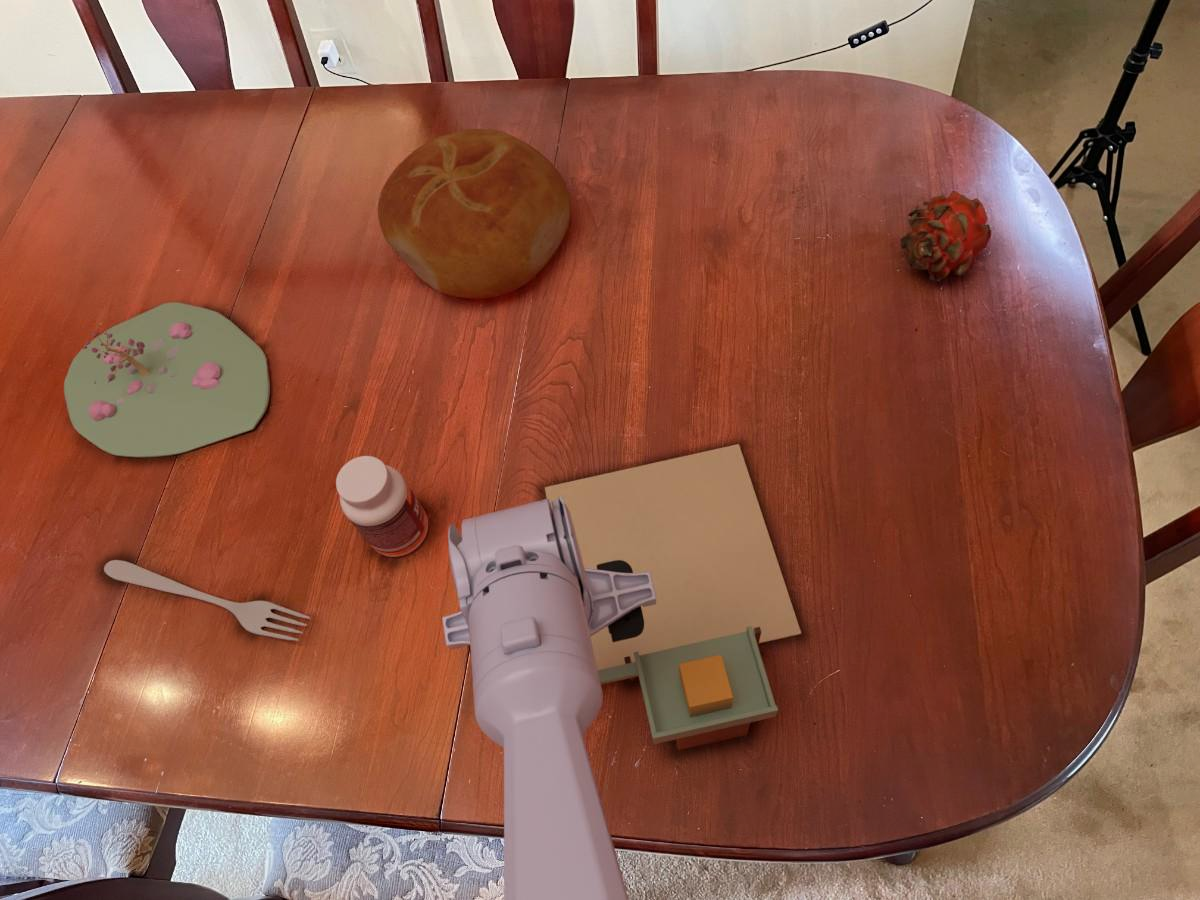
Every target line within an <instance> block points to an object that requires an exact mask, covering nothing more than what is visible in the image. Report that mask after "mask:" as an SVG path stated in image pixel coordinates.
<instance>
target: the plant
mask: <svg viewBox="0 0 1200 900" xmlns="http://www.w3.org/2000/svg"><path fill="white" fill-rule="evenodd" d="M99 334H100V333H99V332H98V331H96V332H94V333H93V334H92V338H94V339H93V340H89V341H86V342H85V345H84V346H83V347H82V348H81V350H80V351H79V352H78V353H77V354H76V355H75V356H74V358H73V359H72V361H71V363H70V366H69V368H68V370H67V373H66V375H65V378H64V383H63V394H64V399H65V403H66V409H67V412H68V417H69V420H70V423H71V425H72V427H73V428H74V430H76V431H77V433H78V434H79V435H81V436H82V437H83V438H84V439H86V440H87V441H88V442H90V443H91V444H93V445H94V446H95V447H97V448H98V449H100V450H102V451H104V452H106V453H108V454H110V455H113V456H117V457H123V458H124V457H126V458H139V459H141V458H144V459H145V458H146V459H147V458H160V457H170V456H175V455H181V454H184V453H188V452H192V451H194V450H198V449H200V448H204V447H206V446H209V445H212V444H214V443H218V442H221V441H223V440H227V439H230V438H232V437H236V436H240V435H241V434H244V433H247V432H250V431H253V430H255V429H256V427H257V425H258V424H259V423H260V421H261V419H262V418H263V416H264V415H265V413H266V411H267V408H268V406H269V403H270V402H269V401H270V396H271V381H270V374H269V364H268V359H267V356H266V353H265V352H264V350H263V349H262V348H261V347H260V346H259V344H257V343H256V342H255V341H254V340H253V339H252V338H251V337H249V335H247V334H246V333H245V332H244V331H242V330H241V329H240V328H239V327H238V326H237V325H236V324H235V323H233V322H232V321H231V320H230V319H228V318H227V317H226V316H225V315H223V314H221V313H220V312H218V311H215V310H212V309H209V308H205V307H201V306H196V305H192V304H189V303H183V302H180V301H179V302H165V303H161V304H159V305H157V306H155V307H153V308H151V309H148V310H147V311H146V310H145V311H143V312H142V313H140V314H137V315H135V316H133V317H131V318H128V319H126V320H125V321H122V322H119V323H118V324H115V325H113V326H112V327H110V328H108V329H107V330H105V331H103V333H101V334H100V335H99Z"/></svg>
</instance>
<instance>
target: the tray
mask: <svg viewBox="0 0 1200 900" xmlns="http://www.w3.org/2000/svg"><path fill="white" fill-rule="evenodd" d="M720 654H721V655H722V658H723V661H724V665H725V669H726V672H727V676H728V680H729V683H730V687H731V690H732V694H733V702H732V708H729V709H724V710H720V711H716V712H711V713H707V714H702V715H698V716H694V717H690V716H689V712H688V708H687V704H686V700H685V696H684V692H683V688H682V684H681V680H680V676H679V664H681V663H685V662H689V661H694V660H698V659H703V658H707V657H712V656H716V655H720ZM634 657H635V662H633V663H628V664H624V665H620V666H615V667H611V668H606V669H602V670H598V674H599V679H600V684H601V686H602V685H605V684H611V683H614V682H619V681H623V680H627V679H629V678H632V677H635V678H636V677H637V678H638V679H639V684H640V688H641V692H642V693H641V694H642V697H643V702H644V706H645V710H646V715H647V720H648V725H649V729H650V733H651V738H652V742H653V745H656V744H661V743H666V742H670V741H676V739H679V738H684V737H688V736H693V735H697V734H701V733H706V732H710V731H715V730H719V729H723V728H728V727H732V726H737V725H741V724H745V723H750V724H751V723H754V722H759V721H762V720H767V719H771V718H776V717H777V714H778V712H779V708H778V705H777V704H776V702H775V699H774V695H773V692H772V688H771V686H770V685H771V684H770V682H769V678H768V675H767V672H766V669H765V665H764V662H763V658H762V655H761V652H760V649H759V645H757V641H756V638H755V635H754V631H753V628H752V626H748V627H747V631H746V632H741V633H737V634H732V635H728V636H724V637H719V638H715V639H710V640H706V641H701V642H697V643H693V644H688V645H684V646H679V647H675V648H670V649H666V650H661V651H657V652H653V653H648V654H644V655H639V652H634Z"/></svg>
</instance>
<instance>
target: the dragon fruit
mask: <svg viewBox="0 0 1200 900" xmlns="http://www.w3.org/2000/svg"><path fill="white" fill-rule="evenodd" d="M922 205H923V206H926V207H927V208H921V209H919V207H920V205H916V206H914V207H913V208H912V209H911V210H910V212H909V213H908V214H907V216H908V217H909V218H908V224H909V226H910V228H911V230H909V232H907V233H906V234H905V235H904V236H902V237H901V238H900V240H899V241H900V248H901V249H902V250H905V249H906V250H907V251H908V252H909V254H908V260H907V263H908V265H909V267H910V268H911V269H916V270H920V271H928V275H929V276H928V280H931V281H933V282H936V283H938V282H940V281H941V280H944V279H945V278H947V276H949V274H950V273H951V271H953V272H954V275H956V276H963V275H965V274H967V272H968V270H969V269H970V268H972V267H973V266H974V264H975V261H976V258H977V256H978V255H979V254H981V253H982V252H983V251H984V249H986V248H987V246H988V244H989V241H990V240H991V237H992V230H991V226H990V224H987V222H988V219H989V218H988V215H987V212H986V209H985V207H984V204H983V202H981V201H980V199H978V198H977V197H976V198H974V199H970V198H969V197H967V196H965V194H962V193H960V192H958V191H956V190H952V191H951V192H950V193H949V195H948V196H947V197H946V195H945V194H941V195H937V196H933V197H932V198H930V199H929V201H923V202H922Z"/></svg>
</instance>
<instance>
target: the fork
mask: <svg viewBox="0 0 1200 900" xmlns="http://www.w3.org/2000/svg"><path fill="white" fill-rule="evenodd" d="M103 571H104V573H105V574H106V575H107V576H108V577H110V578H112V579H113V580H116V581H120V582H123V583H127V584H130V585H131V584H132V585H136V586H140V587H144V588H147V589H151V590H156V591H160V592H164V593H170V594H175V595H180V596H185V597H189V598H194V599H197V600H200V601H204V602H207V603H211V604H214V605H217V606H220V607H221V608H223V609H226V610H227V611H229V612H230V613H232V614H233V615H234V617H236V619H237V621H238V622H239V624H240V625H241V627H242V628H244V630H246V631H247V632H249V633H251V634H255V635H259V636H263V637H264V636H265V637H270V638H275V639H281V640H285V641H286V640H287V641H295V642H296V641H297V642H298V641H299V638H296V637H293V636H290V635H286V634H282V633H277V632H272V631H268V630H267V631H266V630H265V629H262V628H264V627H265V628H271V629H275V630H279V631H284V632H289V633H294V634H300V635H302V634H303V631H301V630H298V629H296V628H292V627H289V626H285V625H282V624H278V623H274V622H271V621H268V620H267V619H273V620H276V621H280V622H285V623H288V624H292V625H296V626H301V627H307V626H308V624H306V623H304V622H301V621H299V620H297V619H293V618H289V617H286V616H283V615H281V614H277V613H274V612H272V610H275V611H279V612H282V613H286V614H289V615H292V616H294V617H297V618H303V619H308V620H311V618H312V617H311V616H309V615H306V614H303V613H301V612H299V611H295V610H293V609H290V608H287V607H284V606H281V605H279V604H277V603H274V602H271V601H268V600H253V601H247V602H237V601H236V602H235V601H230V600H227V599H224V598H221V597H217V596H215V595H211V594H208V593H205V592H202V591H200V590H197V589H195V588H192V587H190V586H187V585H185V584H182V583H181V582H179V581H178V582H177V581H175V580H173V579H170V578H168V577H166V576H163V575H161V574H158V573H156V572H153V571H151V570H149V569H146V568H144V567H142V566H139V565H137V564H134V563H132V562H129V561H126V560H121V559H120V560H119V559H114V560H113V559H112V560H110V561H107V563H105V565H104V567H103Z"/></svg>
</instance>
